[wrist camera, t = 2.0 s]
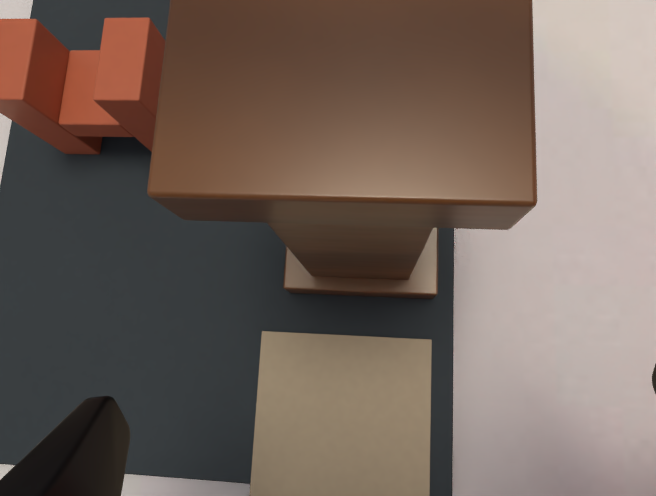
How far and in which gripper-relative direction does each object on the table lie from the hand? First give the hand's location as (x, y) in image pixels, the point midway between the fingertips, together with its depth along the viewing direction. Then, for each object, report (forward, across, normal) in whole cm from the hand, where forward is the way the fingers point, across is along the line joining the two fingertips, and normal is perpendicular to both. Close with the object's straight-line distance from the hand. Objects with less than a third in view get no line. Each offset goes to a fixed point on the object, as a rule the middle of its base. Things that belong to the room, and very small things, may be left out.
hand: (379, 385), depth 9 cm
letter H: (+16, +9, 0) cm, 18 cm away
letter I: (+11, 0, +5) cm, 12 cm away
